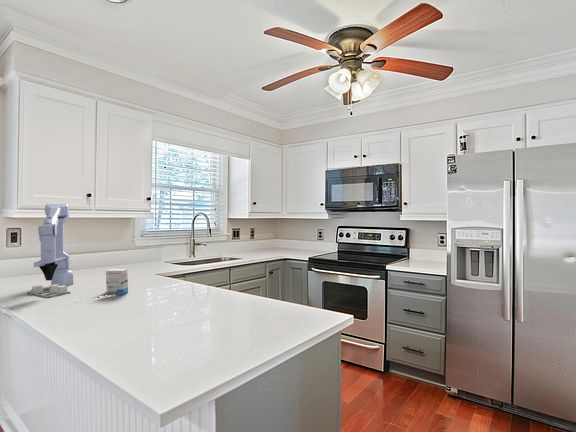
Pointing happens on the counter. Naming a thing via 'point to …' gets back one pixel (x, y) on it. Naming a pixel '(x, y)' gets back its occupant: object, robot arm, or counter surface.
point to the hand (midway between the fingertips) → (49, 280)
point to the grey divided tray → (47, 294)
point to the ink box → (117, 281)
